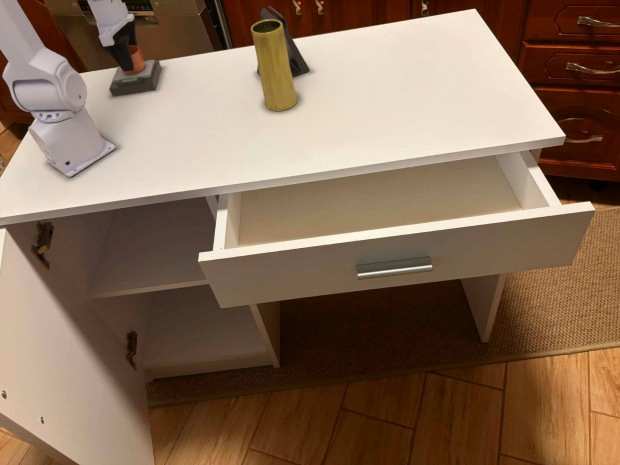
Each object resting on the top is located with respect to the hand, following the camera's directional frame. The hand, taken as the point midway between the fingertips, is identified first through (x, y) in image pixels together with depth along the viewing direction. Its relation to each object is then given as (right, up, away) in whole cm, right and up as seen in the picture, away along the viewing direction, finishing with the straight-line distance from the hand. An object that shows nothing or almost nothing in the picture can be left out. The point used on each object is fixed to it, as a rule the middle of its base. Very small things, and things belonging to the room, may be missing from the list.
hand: (131, 63), depth 98 cm
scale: (+1, -3, +2) cm, 4 cm away
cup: (0, -1, +1) cm, 1 cm away
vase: (+31, -11, -10) cm, 35 cm away
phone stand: (+31, -3, -3) cm, 32 cm away
